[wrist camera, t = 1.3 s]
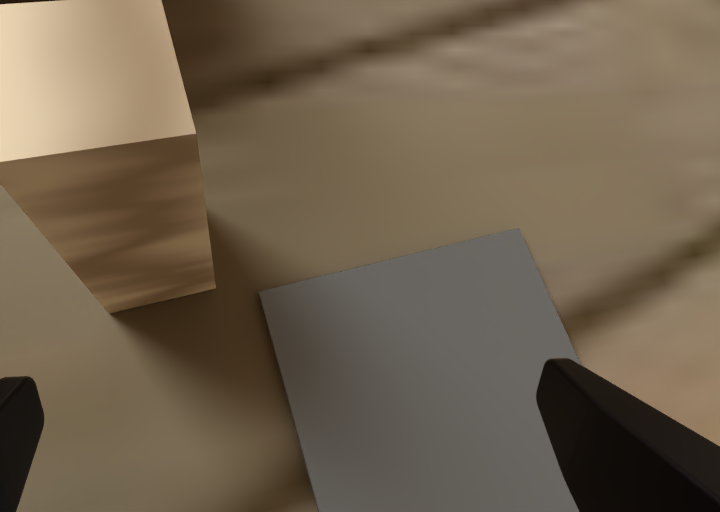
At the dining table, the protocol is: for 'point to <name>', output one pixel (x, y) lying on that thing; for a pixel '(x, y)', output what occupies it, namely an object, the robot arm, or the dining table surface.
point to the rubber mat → (424, 380)
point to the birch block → (104, 146)
